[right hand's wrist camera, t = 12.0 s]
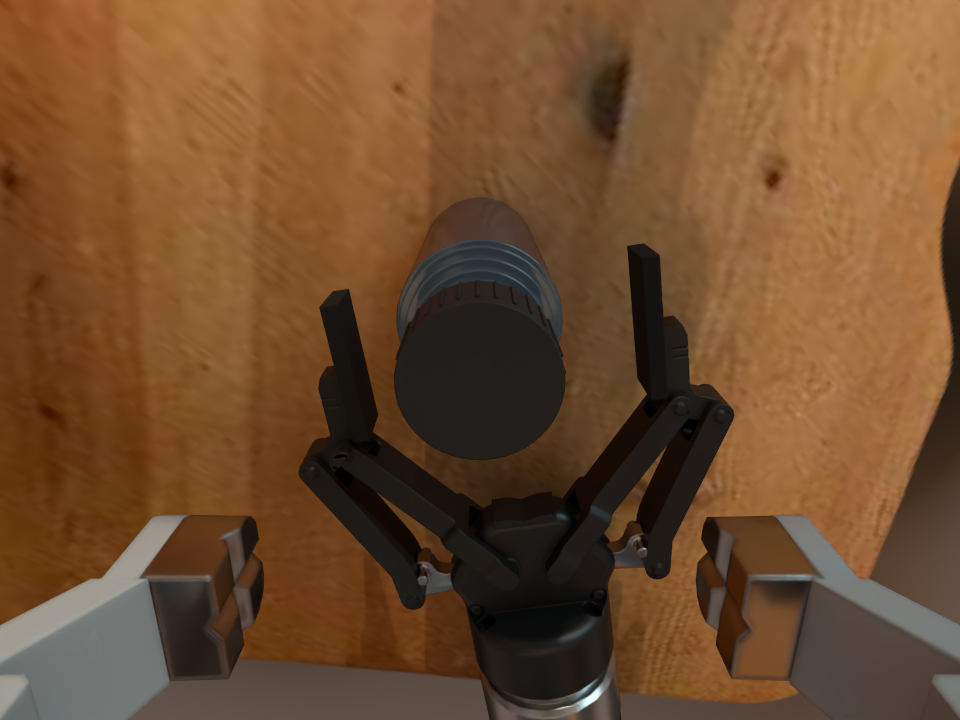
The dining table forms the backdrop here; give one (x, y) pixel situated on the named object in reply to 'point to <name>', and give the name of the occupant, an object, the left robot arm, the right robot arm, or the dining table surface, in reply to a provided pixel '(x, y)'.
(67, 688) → the right robot arm
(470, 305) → the cap
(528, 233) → the bottle
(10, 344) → the dining table surface
